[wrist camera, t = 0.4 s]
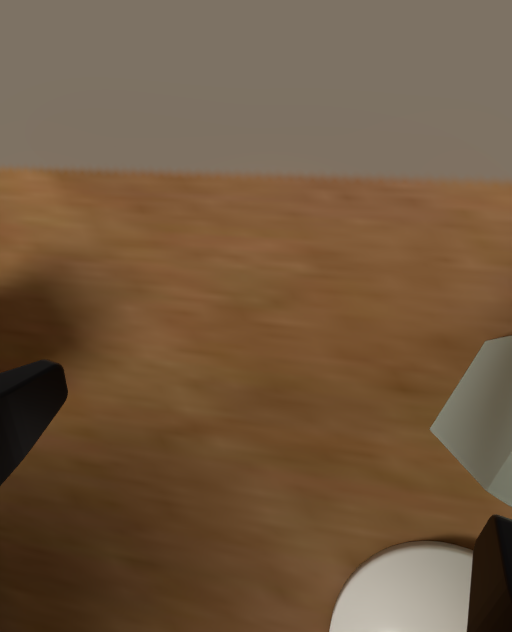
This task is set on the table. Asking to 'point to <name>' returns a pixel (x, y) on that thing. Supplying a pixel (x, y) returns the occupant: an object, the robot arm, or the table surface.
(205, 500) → the table surface
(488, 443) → the sage block
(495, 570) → the robot arm
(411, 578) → the coaster
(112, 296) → the table surface
